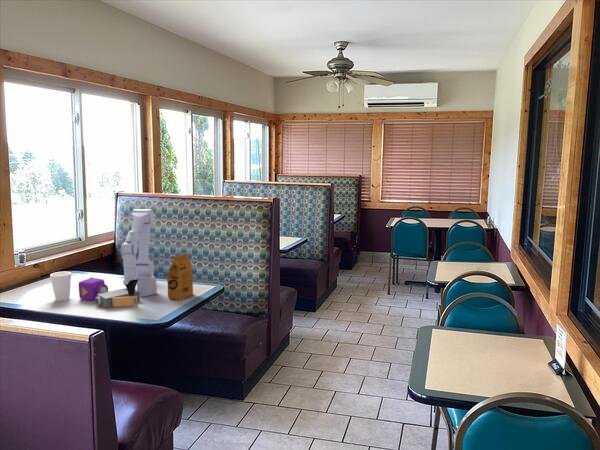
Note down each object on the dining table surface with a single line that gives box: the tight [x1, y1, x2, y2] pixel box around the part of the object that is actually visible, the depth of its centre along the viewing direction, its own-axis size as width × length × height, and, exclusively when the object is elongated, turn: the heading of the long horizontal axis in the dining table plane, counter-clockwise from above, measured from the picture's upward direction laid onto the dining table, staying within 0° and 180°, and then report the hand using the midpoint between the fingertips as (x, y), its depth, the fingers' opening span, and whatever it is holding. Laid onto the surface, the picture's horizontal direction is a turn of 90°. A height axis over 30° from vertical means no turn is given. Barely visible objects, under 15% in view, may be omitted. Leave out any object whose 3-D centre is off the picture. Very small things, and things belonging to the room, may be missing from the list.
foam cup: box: [49, 271, 72, 302], centre depth 255 cm, size 10×9×13 cm
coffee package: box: [166, 252, 194, 301], centre depth 257 cm, size 10×12×22 cm
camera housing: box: [94, 287, 141, 310], centre depth 249 cm, size 19×10×6 cm, turn 134°
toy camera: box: [78, 276, 109, 302], centre depth 256 cm, size 11×14×10 cm
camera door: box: [112, 296, 138, 308], centre depth 243 cm, size 11×1×4 cm, turn 104°
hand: (131, 295), depth 245 cm, fingers closed
